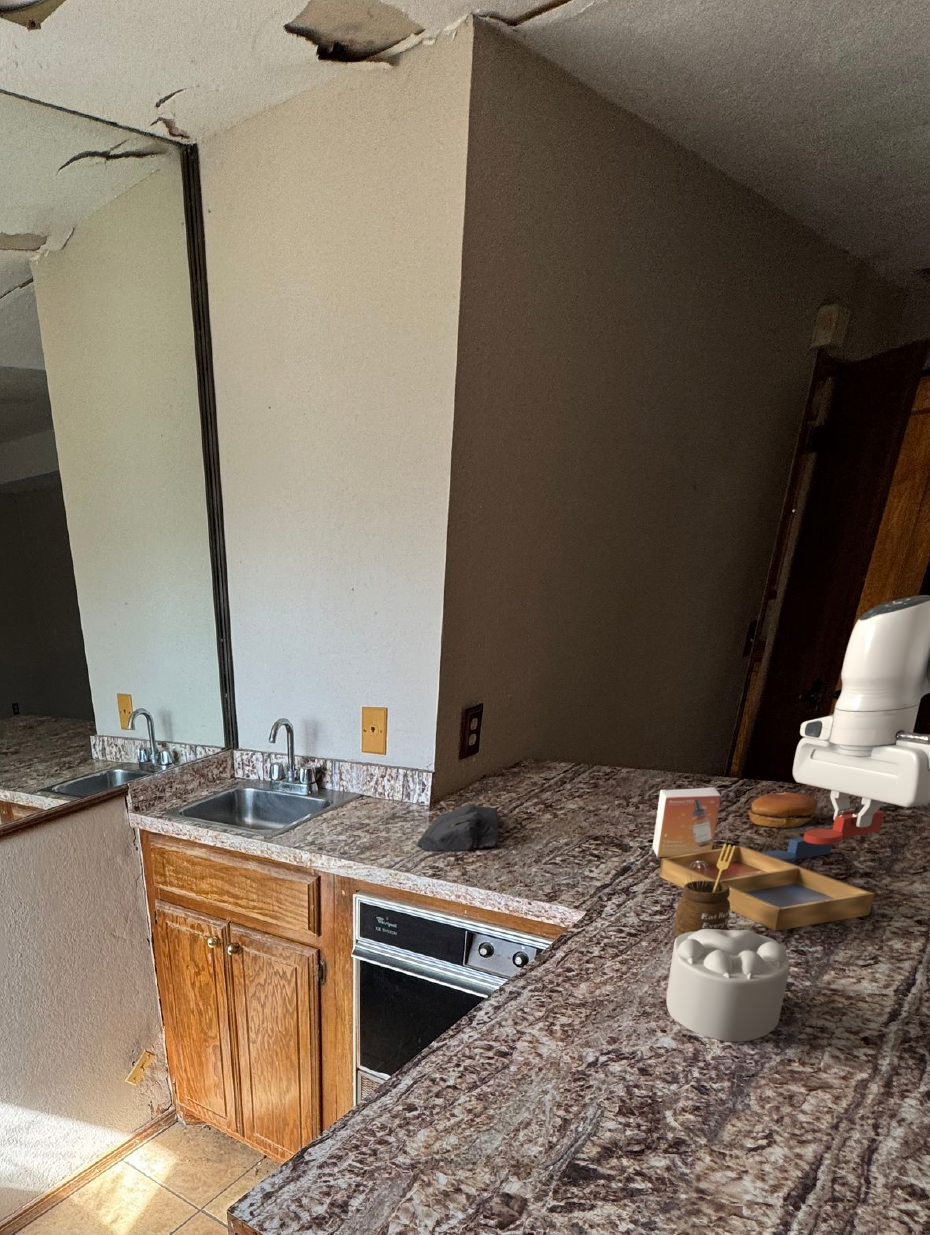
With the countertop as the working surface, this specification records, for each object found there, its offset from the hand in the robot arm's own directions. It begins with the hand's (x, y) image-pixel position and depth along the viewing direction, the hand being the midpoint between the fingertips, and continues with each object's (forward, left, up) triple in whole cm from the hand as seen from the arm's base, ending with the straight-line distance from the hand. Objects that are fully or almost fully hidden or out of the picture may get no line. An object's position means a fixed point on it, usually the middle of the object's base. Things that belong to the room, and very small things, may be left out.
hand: (851, 823), depth 114 cm
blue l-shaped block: (+1, -8, -7) cm, 11 cm away
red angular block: (+1, 0, -2) cm, 2 cm away
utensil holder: (+30, +12, -8) cm, 34 cm away
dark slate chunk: (+38, -47, -8) cm, 61 cm away
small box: (+12, -18, -8) cm, 23 cm away
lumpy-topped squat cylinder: (+41, +31, -8) cm, 52 cm away
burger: (-11, -25, -8) cm, 28 cm away
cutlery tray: (+15, +3, -7) cm, 17 cm away
